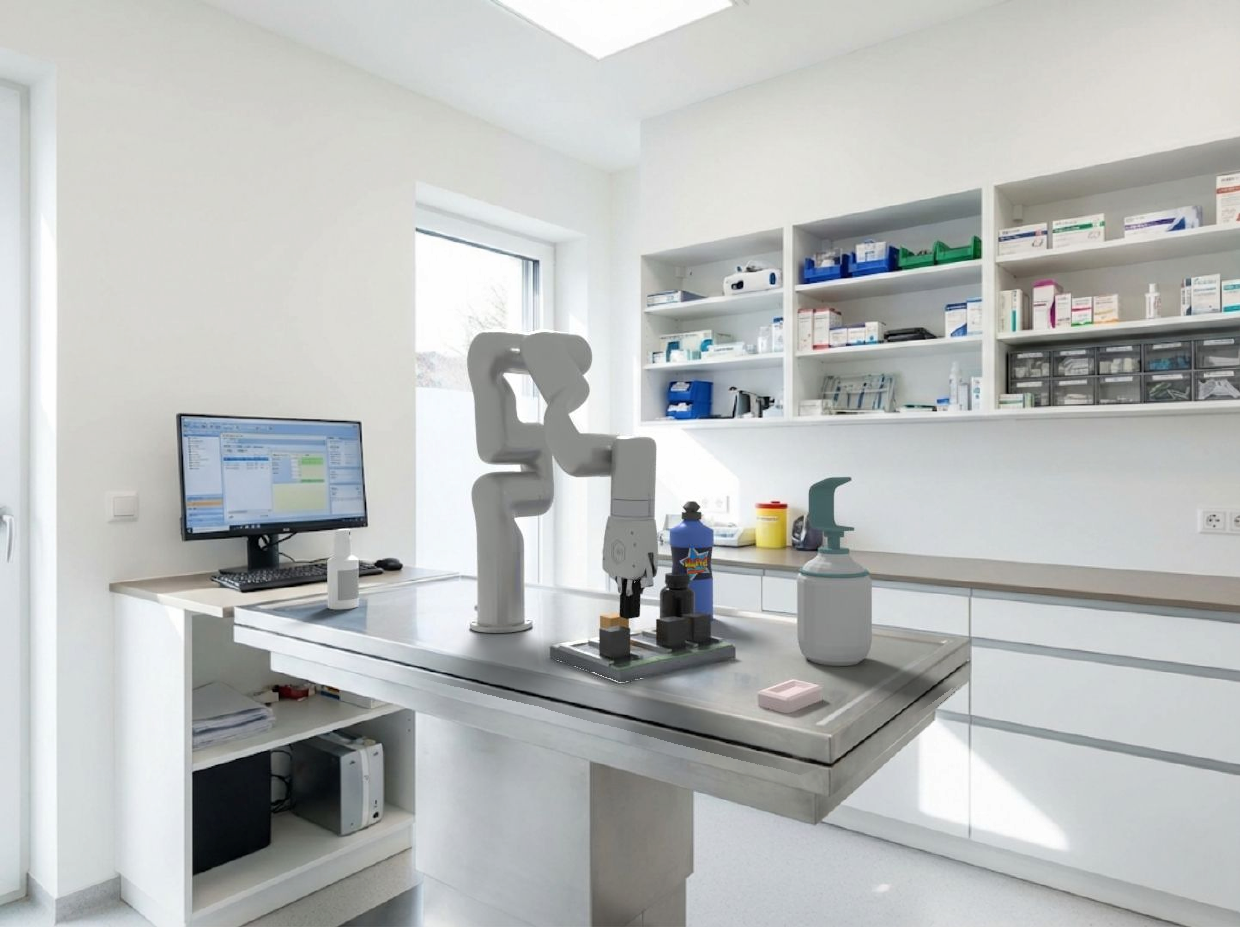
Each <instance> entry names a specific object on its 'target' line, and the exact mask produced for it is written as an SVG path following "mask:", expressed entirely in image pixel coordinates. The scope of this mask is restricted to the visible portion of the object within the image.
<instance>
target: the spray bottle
mask: <svg viewBox="0 0 1240 927" xmlns="http://www.w3.org/2000/svg"><path fill="white" fill-rule="evenodd" d="M351 534H352V533H351V529H350V528H340V529H339V528H338V529H335V531H334V538H333V556H331V557H329V558H328V559H327V561H326V562H327V564H326V567H327V569H326V570H327V571H326V572H327V573H326V574H327V575H326V576H327V577H326V578H327V580H326V581H327V587H326V589H327V608H328V609H329V610H335V611H336V610H338V611H340V610H342V611H344V610H351V609H355V608H357V607H359V605H360V598H359V597H360V592H359V590H360V589H359V588H360V587H359V586H360V582H359V578H360V577H359V576H360V575H359V574H360V573H359V569H360V568H359V565H360V564H359V558H358V557H356V556H355V555H353V547H352V546H353V545H352V544H353V543H352V542H353V541H352V540H353V539H352V535H351Z"/></svg>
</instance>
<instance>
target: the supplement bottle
mask: <svg viewBox="0 0 1240 927" xmlns="http://www.w3.org/2000/svg"><path fill="white" fill-rule="evenodd" d="M664 577H665V578H664V584H665V586H664V587H663V588H662V589H661V590H660V592H659V619H660V618H666V617H672V616H675V617H679V618H682V615H684V614H690V613H695V592H694V590H693V589H692V588H690V587H689V584H690V574H688V573H672V572H667V573H665V574H664Z"/></svg>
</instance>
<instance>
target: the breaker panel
mask: <svg viewBox="0 0 1240 927" xmlns="http://www.w3.org/2000/svg"><path fill="white" fill-rule="evenodd" d="M598 629H599V630H598V632H599V634H598V635H599V636H596V637H592V638H591V637H590V638H585V639H579V640H573V641H568V642H563V643H561V642H560V643H556V644H555V643H554V644H551V646H549V658H550V659H551V660H555V661H557V660H559V661H558V662H560V661H562V662H564V663H563V664H565V663H566V665H568V664H569V665H568V666H570V665H572V667H573V666H576V667H578V668H577V669H579V668H581V669H584V670H587V671H589V672H595V673H597V674H599V675H602V676H604V677H607V678H611V679H613V680H616V681H618V682H626V681H631V680H635V679H640V678H645V679H648V678H652V677H657V676H663V675H665V674H671V673H674V672H675V673H676V672H680V671H685V670H689V669H693V668H694V669H695V668H696V667H697V668H698V667H702V666H706V665H711V664H716V663H719V662H725V661H729V660H733V659H736V657H737V656H736V655H737V654H736V645H735V646H734V644H733V643H731V642H725V641H724V638H723V637H722V638H721V637H718V636H713V635H712V621H711V614H706V613H702V612H695V613H690V614H684V615H682V618H679V617H675V616H672V617H666V618H660V617H659V618H656V619H655V626H654V627H648V628H643V629H636V630H635V629H634V630H631V628H630V627H629V628H627V627H623V626H619V625H618V626H612V627H606V628H600V627H599V628H598ZM562 662H561V663H562ZM576 667H575V668H576ZM581 669H580V670H581ZM584 670H583V671H584ZM587 671H586V672H587ZM589 672H588V673H589ZM640 680H641V679H640ZM631 682H632V681H631Z"/></svg>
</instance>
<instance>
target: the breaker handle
mask: <svg viewBox="0 0 1240 927" xmlns="http://www.w3.org/2000/svg"><path fill="white" fill-rule="evenodd" d="M619 614H620V612H615V613H614V612H613V613H608V614H603V615H602V614H601V615H599V629H600V628H606V627H612V626H618V625H619V626H623V627H627V628H630V626H629V625H630V622H629V621H630V619H625V618H622V617H620V616H619Z"/></svg>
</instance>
